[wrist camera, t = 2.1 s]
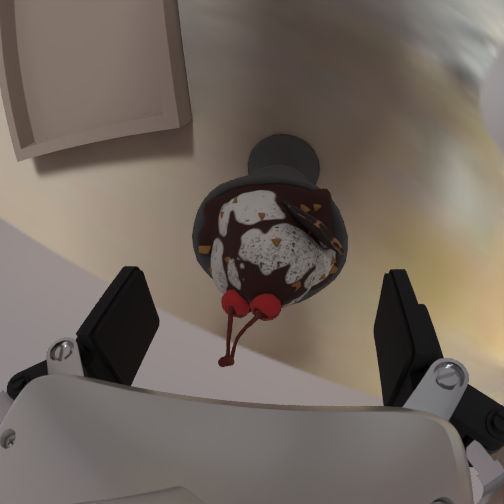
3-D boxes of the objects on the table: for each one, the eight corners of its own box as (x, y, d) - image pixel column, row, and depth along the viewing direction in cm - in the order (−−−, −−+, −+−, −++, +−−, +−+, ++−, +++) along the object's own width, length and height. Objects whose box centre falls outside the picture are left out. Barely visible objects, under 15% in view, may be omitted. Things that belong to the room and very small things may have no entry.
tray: (12, -34, 13) (-7, -34, 10) (168, -112, 10) (154, -124, 8) (35, 151, 24) (17, 161, 21) (192, 120, 21) (180, 127, 19)
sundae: (241, 212, 24) (178, 385, 12) (231, 125, 21) (122, 245, 8) (330, 212, 23) (345, 396, 11) (330, 122, 20) (376, 246, 7)
